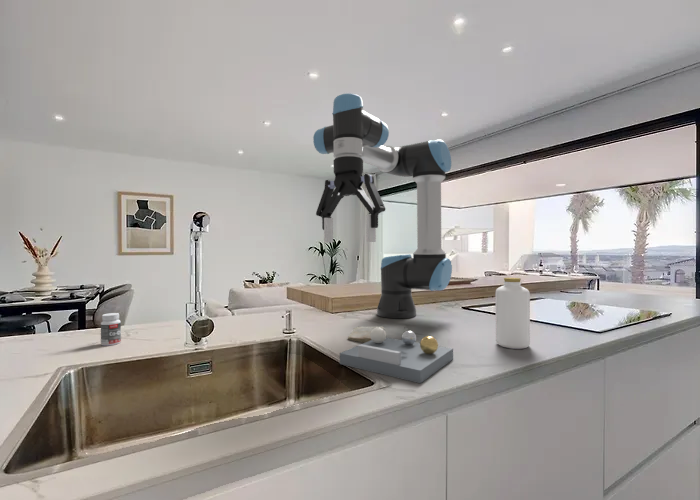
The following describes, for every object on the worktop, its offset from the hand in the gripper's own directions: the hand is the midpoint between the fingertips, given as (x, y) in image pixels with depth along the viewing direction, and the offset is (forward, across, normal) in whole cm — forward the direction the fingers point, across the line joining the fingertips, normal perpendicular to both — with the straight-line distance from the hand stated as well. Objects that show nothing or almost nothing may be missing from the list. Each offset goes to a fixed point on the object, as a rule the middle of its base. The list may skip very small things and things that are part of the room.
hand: (349, 242), depth 90 cm
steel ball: (+24, +14, +6) cm, 28 cm away
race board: (+28, +14, 0) cm, 31 cm away
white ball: (+23, +6, +3) cm, 24 cm away
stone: (+28, -4, +15) cm, 32 cm away
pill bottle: (+28, -60, -33) cm, 74 cm away
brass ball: (+23, +20, +2) cm, 31 cm away
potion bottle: (+28, +32, +30) cm, 52 cm away
